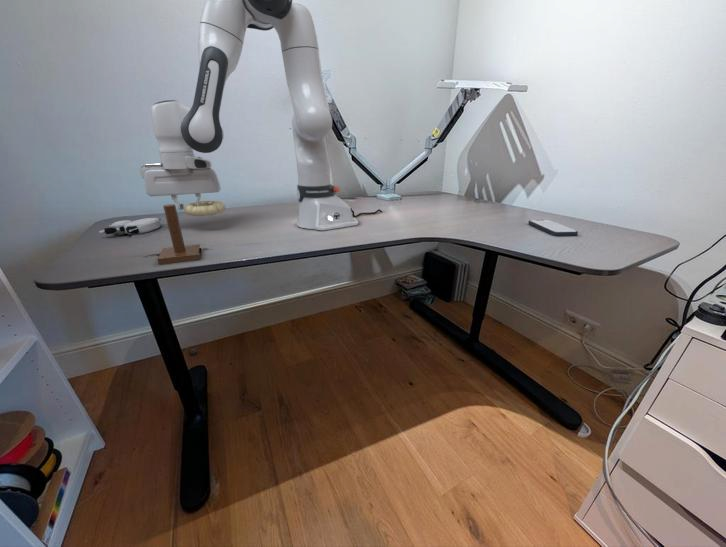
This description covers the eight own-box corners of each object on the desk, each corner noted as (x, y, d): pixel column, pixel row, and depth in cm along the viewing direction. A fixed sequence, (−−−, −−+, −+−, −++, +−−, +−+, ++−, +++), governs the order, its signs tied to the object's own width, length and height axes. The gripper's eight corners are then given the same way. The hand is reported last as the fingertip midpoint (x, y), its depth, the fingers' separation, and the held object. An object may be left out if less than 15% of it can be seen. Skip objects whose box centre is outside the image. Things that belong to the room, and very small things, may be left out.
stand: (201, 249, 88) (191, 200, 83) (199, 259, 80) (187, 207, 75) (164, 253, 85) (151, 203, 79) (158, 264, 77) (144, 210, 72)
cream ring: (225, 207, 108) (224, 199, 107) (226, 214, 98) (224, 205, 97) (187, 210, 104) (184, 201, 103) (183, 218, 94) (180, 208, 92)
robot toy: (99, 242, 96) (146, 238, 96) (93, 227, 94) (141, 224, 94) (127, 231, 107) (169, 228, 107) (122, 218, 106) (165, 215, 105)
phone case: (579, 236, 103) (548, 223, 118) (580, 231, 102) (549, 219, 117) (553, 237, 102) (526, 224, 117) (555, 232, 102) (527, 219, 116)
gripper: (135, 164, 87) (149, 213, 92) (215, 161, 94) (223, 207, 99) (140, 162, 92) (153, 209, 97) (215, 160, 99) (223, 204, 105)
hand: (189, 208), depth 98 cm, fingers closed on cream ring, 3 cm apart
